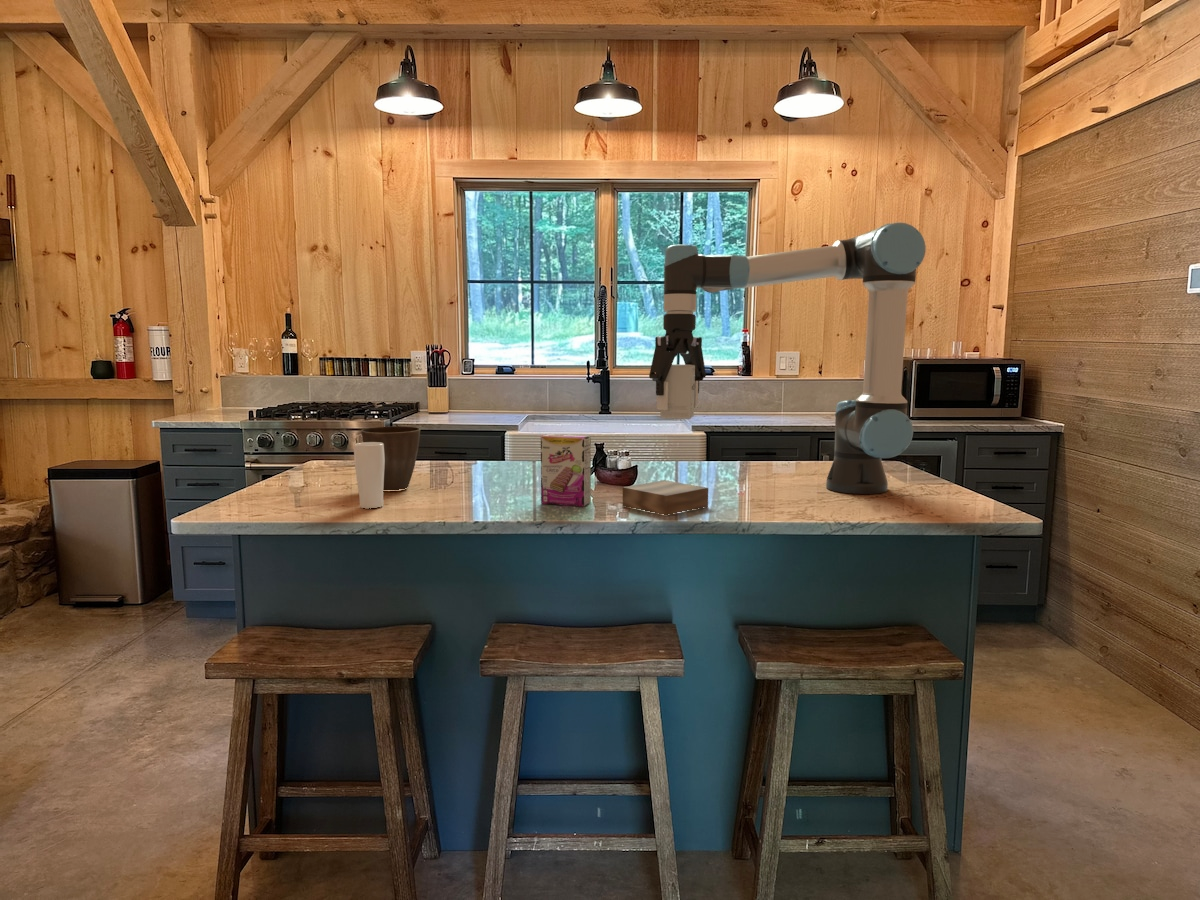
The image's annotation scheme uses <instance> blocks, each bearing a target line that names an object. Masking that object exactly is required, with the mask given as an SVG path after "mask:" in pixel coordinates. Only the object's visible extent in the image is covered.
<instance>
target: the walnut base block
mask: <svg viewBox="0 0 1200 900" xmlns="http://www.w3.org/2000/svg"><path fill="white" fill-rule="evenodd" d="M623 506H626V507H631V508H636V509H641V510H645V511H650V512H655V513H659V514H664V515H668V514H673V513H677V512H682V511H687V510H692V509H698V508H703V507H708V508H709V487H706V486H700V485H693V484H689V483H683V482H677V481H676V482H675V481H672V480H666V479H664V480H657V481H652V482H645V483H641V484H634V485H629V486H623V487H622V507H623ZM626 507H625V508H626ZM703 509H704V508H703ZM698 510H699V509H698Z"/></svg>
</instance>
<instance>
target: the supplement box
mask: <svg viewBox="0 0 1200 900" xmlns="http://www.w3.org/2000/svg"><path fill="white" fill-rule="evenodd" d="M661 376H662V375H661ZM664 382H668V410H660V411H659V412H660V414H659V417H660V419H665V420H666V419H667V420H670V419H671V420H691V419H692V418H693V417H694V416H695V414H694V413H695V408H694V390H695V365H685V364H672V365H671V368H670V370H669V373H668V375H667V378H666V380H665V381H664Z"/></svg>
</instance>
